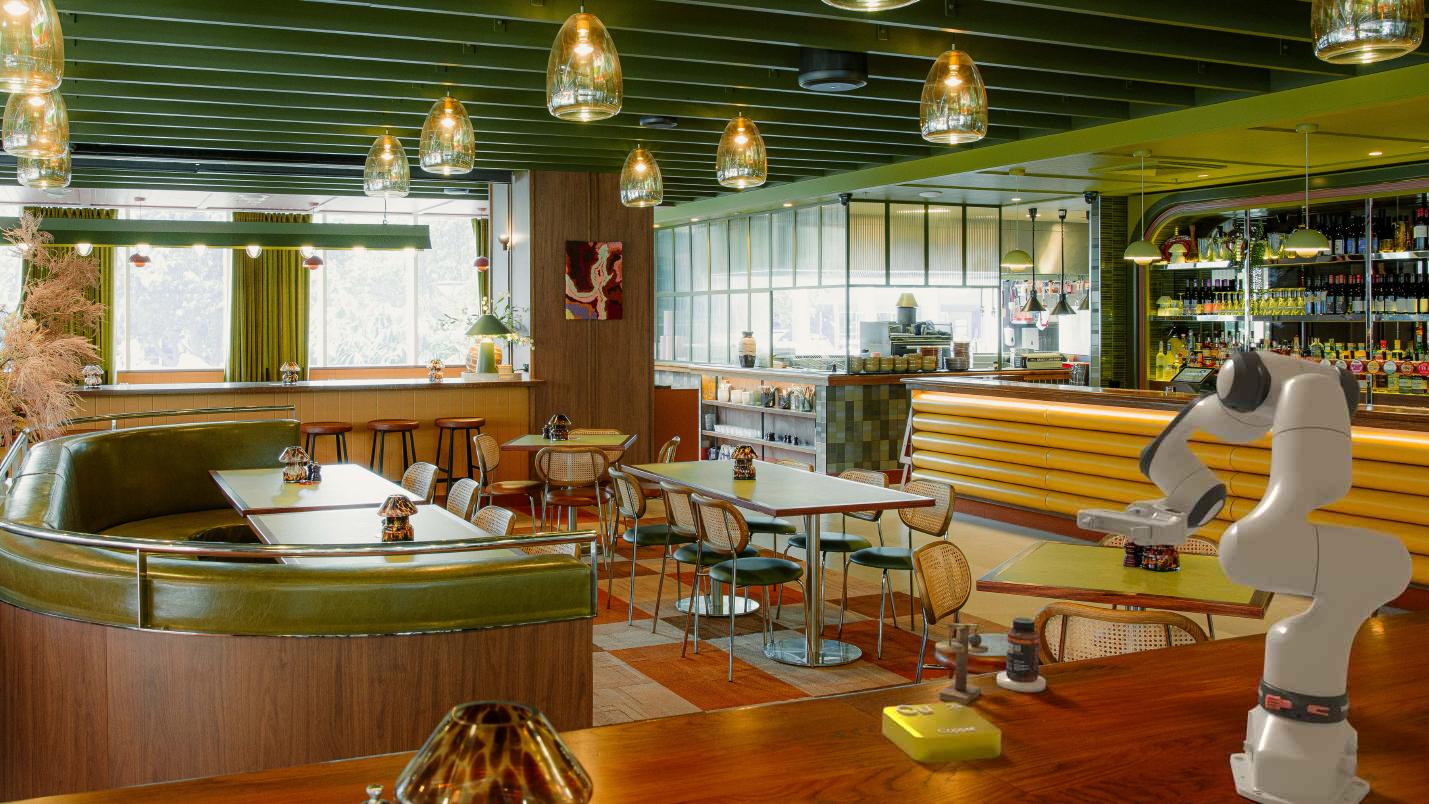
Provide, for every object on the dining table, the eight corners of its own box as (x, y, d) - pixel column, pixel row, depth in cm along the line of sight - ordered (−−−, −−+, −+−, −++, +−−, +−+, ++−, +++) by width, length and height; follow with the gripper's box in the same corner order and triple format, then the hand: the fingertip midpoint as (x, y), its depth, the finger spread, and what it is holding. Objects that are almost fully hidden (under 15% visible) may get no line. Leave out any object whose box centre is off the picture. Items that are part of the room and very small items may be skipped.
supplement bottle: (1034, 674, 210) (1037, 616, 209) (1040, 684, 204) (1043, 624, 204) (1003, 672, 211) (1005, 615, 210) (1008, 682, 205) (1010, 623, 204)
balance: (955, 713, 190) (959, 629, 189) (928, 707, 193) (932, 624, 192) (990, 686, 206) (993, 608, 205) (964, 680, 209) (968, 604, 208)
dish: (1037, 695, 201) (1038, 689, 201) (990, 685, 206) (990, 679, 206) (1051, 683, 209) (1051, 677, 209) (1004, 674, 214) (1005, 668, 214)
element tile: (918, 766, 167) (920, 736, 166) (877, 731, 181) (878, 703, 181) (1005, 759, 171) (1006, 729, 171) (958, 725, 185) (959, 698, 185)
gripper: (1100, 500, 225) (1060, 504, 217) (1195, 514, 209) (1156, 520, 201) (1098, 530, 226) (1058, 536, 217) (1193, 547, 210) (1154, 554, 201)
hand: (1106, 528), depth 209 cm, fingers open, 8 cm apart
